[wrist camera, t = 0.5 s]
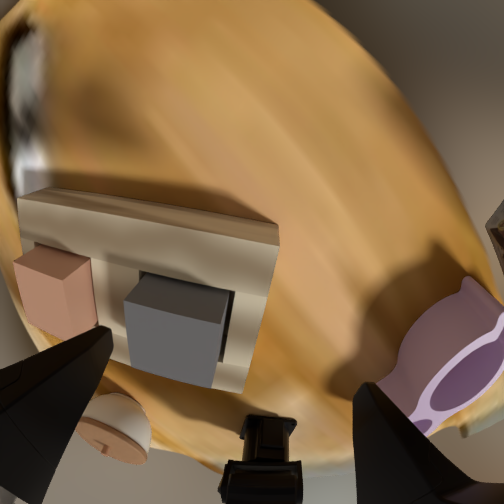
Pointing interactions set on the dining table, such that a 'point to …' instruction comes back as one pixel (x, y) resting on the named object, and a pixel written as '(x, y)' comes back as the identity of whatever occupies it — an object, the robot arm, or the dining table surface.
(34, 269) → the terracotta button
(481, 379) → the mauve piece
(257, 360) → the dining table surface
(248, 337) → the button console
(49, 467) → the robot arm
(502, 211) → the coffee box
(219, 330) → the charcoal button
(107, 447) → the lidded jar
